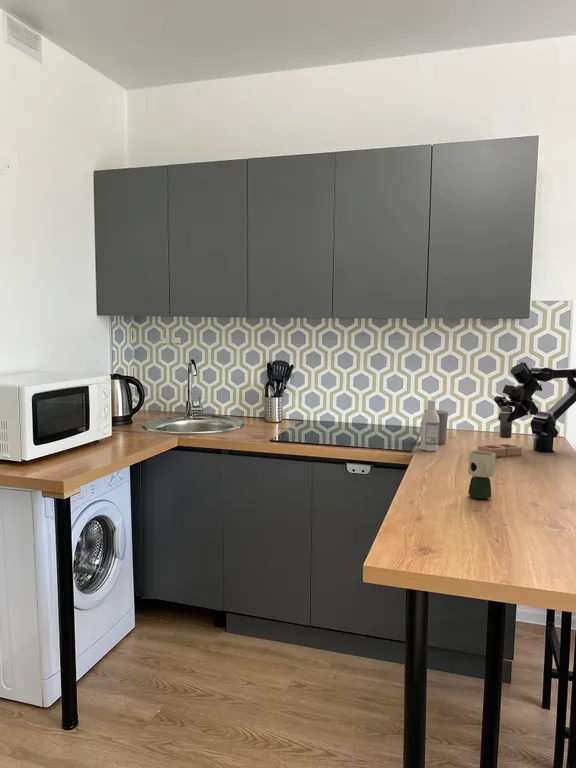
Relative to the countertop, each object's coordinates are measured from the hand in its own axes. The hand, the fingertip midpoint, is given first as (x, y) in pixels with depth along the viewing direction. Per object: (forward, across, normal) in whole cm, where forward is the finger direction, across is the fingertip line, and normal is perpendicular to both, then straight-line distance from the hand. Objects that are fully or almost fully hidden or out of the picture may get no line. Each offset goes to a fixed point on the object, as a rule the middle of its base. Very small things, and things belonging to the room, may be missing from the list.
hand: (503, 420), depth 232 cm
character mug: (+46, +46, -29) cm, 72 cm away
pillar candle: (+18, -27, +1) cm, 32 cm away
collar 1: (+13, 0, +6) cm, 14 cm away
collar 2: (+7, 0, +11) cm, 13 cm away
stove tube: (+4, 0, +6) cm, 7 cm away
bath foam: (+26, -15, -8) cm, 31 cm away
